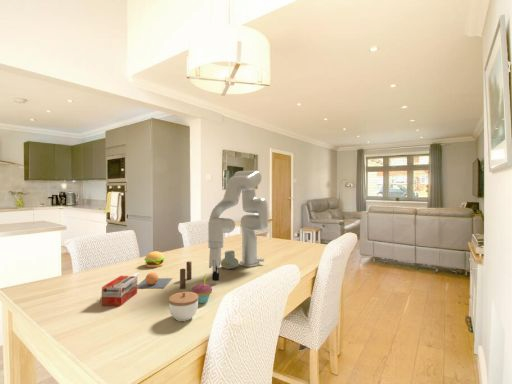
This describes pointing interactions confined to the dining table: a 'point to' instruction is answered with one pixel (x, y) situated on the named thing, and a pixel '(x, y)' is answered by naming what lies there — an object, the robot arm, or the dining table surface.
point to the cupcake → (202, 291)
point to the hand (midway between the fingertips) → (215, 280)
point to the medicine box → (119, 290)
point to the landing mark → (160, 284)
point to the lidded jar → (183, 305)
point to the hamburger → (154, 259)
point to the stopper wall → (137, 275)
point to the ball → (151, 278)
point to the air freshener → (229, 260)
